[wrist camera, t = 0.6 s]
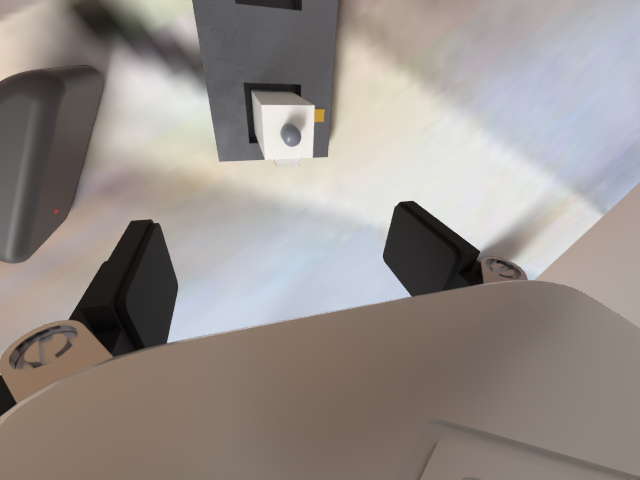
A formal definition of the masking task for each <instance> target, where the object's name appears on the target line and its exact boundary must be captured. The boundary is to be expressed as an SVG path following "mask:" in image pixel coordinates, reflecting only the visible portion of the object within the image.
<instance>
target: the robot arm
mask: <svg viewBox="0 0 640 480" xmlns="http://www.w3.org/2000/svg"><path fill="white" fill-rule="evenodd" d="M479 253H480V251H479V250H478V249H476V248H475V247H474V246H472V245H471V244H470V243H468V242H467V241H466V240H465V239H463V238H462V237H461V236H459V235H458V234H457V233H455V232H454V231H453V230H451V229H450V228H449V227H447V226H446V225H445V224H443V223H442V222H441V221H439V220H438V219H437V218H435V217H434V216H433V215H431V214H430V213H429V212H427V211H426V210H425V209H423V208H422V207H421V206H419V205H418V204H417V203H415V202H414V201H405V202H400V203H399V204H398V205H397V206H395V208H394V212H393V216H392V220H391V224H390V228H389V232H388V236H387V240H386V245H385V249H384V253H383V259H384V261H385V263H386V264H387V265H388V267H389V268H390V269H391V271H392V272H393V273H394V274H395V276H396V277H397V278H398V280H399V281H400V282H401V283H402V285H403V286H404V287H405V288H406V290H407V291H408V292H409V294H410V295H411V296H412V297H407V298H401V299H396V300H390V301H385V302H379V303H374V304H368V305H363V306H358V307H352V308H347V309H341V310H336V311H331V312H325V313H320V314H314V315H309V316H304V317H299V318H293V319H288V320H283V321H278V322H272V323H267V324H262V325H257V326H251V327H246V328H241V329H236V330H230V331H225V332H220V333H215V334H209V335H204V336H199V337H194V338H189V339H185V340H180V341H176V342H171V343H167V339H168V335H169V330H170V325H171V320H172V316H173V311H174V306H175V301H176V297H177V292H178V282H177V278H176V275H175V272H174V269H173V265H172V262H171V259H170V256H169V252H168V249H167V246H166V242H165V239H164V236H163V233H162V229H161V226H160V224H159V223H154V222H153V221H152V220H151V219H150V220H136V221H131V222H130V224H129V225H128V227H127V229H126V230H125V232H124V234H123V236H122V237H121V239H120V241H119V242H118V244H117V246H116V247H115V249H114V251H113V252H112V254H111V256H110V258H109V259H108V261H105V262H104V263H103V264H102V265H101V267H100V269H99V270H98V272H97V274H96V275H95V277H94V278H93V280H92V282H91V283H90V285H89V287H88V288H87V290H86V292H85V293H84V295H83V297H82V298H81V300H80V302H79V303H78V305H77V306H76V308H75V310H74V311H73V313H72V315H71V316H70V318H69V320H63V321H56V322H53V323H49V324H46V325H43V326H41V327H39V328H36V329H34V330H32V331H30V332H29V333H27V334H25V335H24V336H22V337H20V338H19V339H18V340H17V341H15V342H14V343H13V344H12V345H10V346H9V348H8V349H7V350H6V351H5V352H4V353H3V354H2V356H1V359H0V373H1V375H0V480H640V328H639V327H637V326H636V325H634V324H633V323H631V322H630V321H628V320H627V319H625V318H623V317H622V316H620V315H619V314H617V313H615V312H614V311H612V310H611V309H609V308H608V307H606V306H604V305H603V304H601V303H600V302H598V301H596V300H595V299H593V298H591V297H590V296H588V295H586V294H584V293H583V292H581V291H579V290H576V289H574V288H571V287H568V286H565V285H561V284H556V283H551V282H544V281H535V280H528V279H527V276H526V274H525V272H524V271H523V270H522V269H521V268H520V267H519V266H517V265H516V264H514V263H513V262H510V261H508V260H506V259H503V258H500V257H494V256H488V257H484V258H483V259H481V261H480V262H479V261H477V260H476V259H477V257H478V255H479Z"/></svg>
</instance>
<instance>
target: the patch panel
mask: <svg viewBox="0 0 640 480" xmlns="http://www.w3.org/2000/svg"><path fill="white" fill-rule="evenodd" d="M192 2H193V8H194V14H195V20H196V26H197V32H198V38H199V44H200V50H201V56H202V62H203V68H204V73H205V79H206V85H207V91H208V97H209V103H210V109H211V115H212V121H213V127H214V133H215V139H216V145H217V151H218V157H219V162H220V161H244V160H265V158H264V156H263V153H262V150H261V148H260V145H259V142H258V140H257V137H256V134H255V132H254V124H253V112H252V101H251V89H258V90H290V91H291V92H293V93H295V94H296V95H298V96H300V97H301V98H303V99H305V100H306V101H308V102H310V103H311V104H313V105H315V108H314V137H313V158H316V157H328V145H329V130H330V115H331V100H332V85H333V71H334V56H335V41H336V26H337V11H338V0H192Z"/></svg>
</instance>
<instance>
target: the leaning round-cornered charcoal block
mask: <svg viewBox="0 0 640 480" xmlns="http://www.w3.org/2000/svg"><path fill="white" fill-rule="evenodd" d="M102 89H103V78H102V76H101V74H100V73H99V72H98V71H97V70H96V69H95V68H93V67H91V66H88V65H79V66H69V67H58V68H48V69H38V70H31V71H26V72H22V73H18V74H15V75H13V76H10V77H8V78H5V79H4V80H2V81H0V261H3V262H6V263H20V262H23V261H26V260H27V259H29V258H30V257H31V256H32V255H33V254H34V253H35V251H36V250H37V249H38V248H39V247H40V246H41V245H42V244H43V243H44V242H45V241H46V240H47V239H48V238H49V237H50V236H51V234H52V233H53V232H54V231H55V230H56V229H57V228H58V227H59V226H60V225H61V224H62V223H63V222H64V221H65V220H66V218H67V216H68V214H69V212H70V209H71V205H72V202H73V198H74V194H75V191H76V187H77V183H78V179H79V176H80V172H81V168H82V165H83V161H84V157H85V153H86V150H87V146H88V142H89V139H90V135H91V131H92V127H93V124H94V120H95V116H96V113H97V109H98V105H99V101H100V98H101V94H102Z"/></svg>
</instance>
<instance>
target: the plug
mask: <svg viewBox="0 0 640 480" xmlns="http://www.w3.org/2000/svg"><path fill="white" fill-rule="evenodd" d="M251 101H252V112H253V124H254V132H255V134H256V137H257V140H258V142H259V145H260V148H261V150H262V153H263V156H264V158H265V160H272V159H274V161H275V164H276V166H277V167H282V166H300V158H313V137H314V108H315V105H313V104H311V103H310V102H308V101H306V100H305V99H303V98H301V97H300V96H298V95H296V94H295V93H293V92H291V91H290V90H258V89H251Z"/></svg>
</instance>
